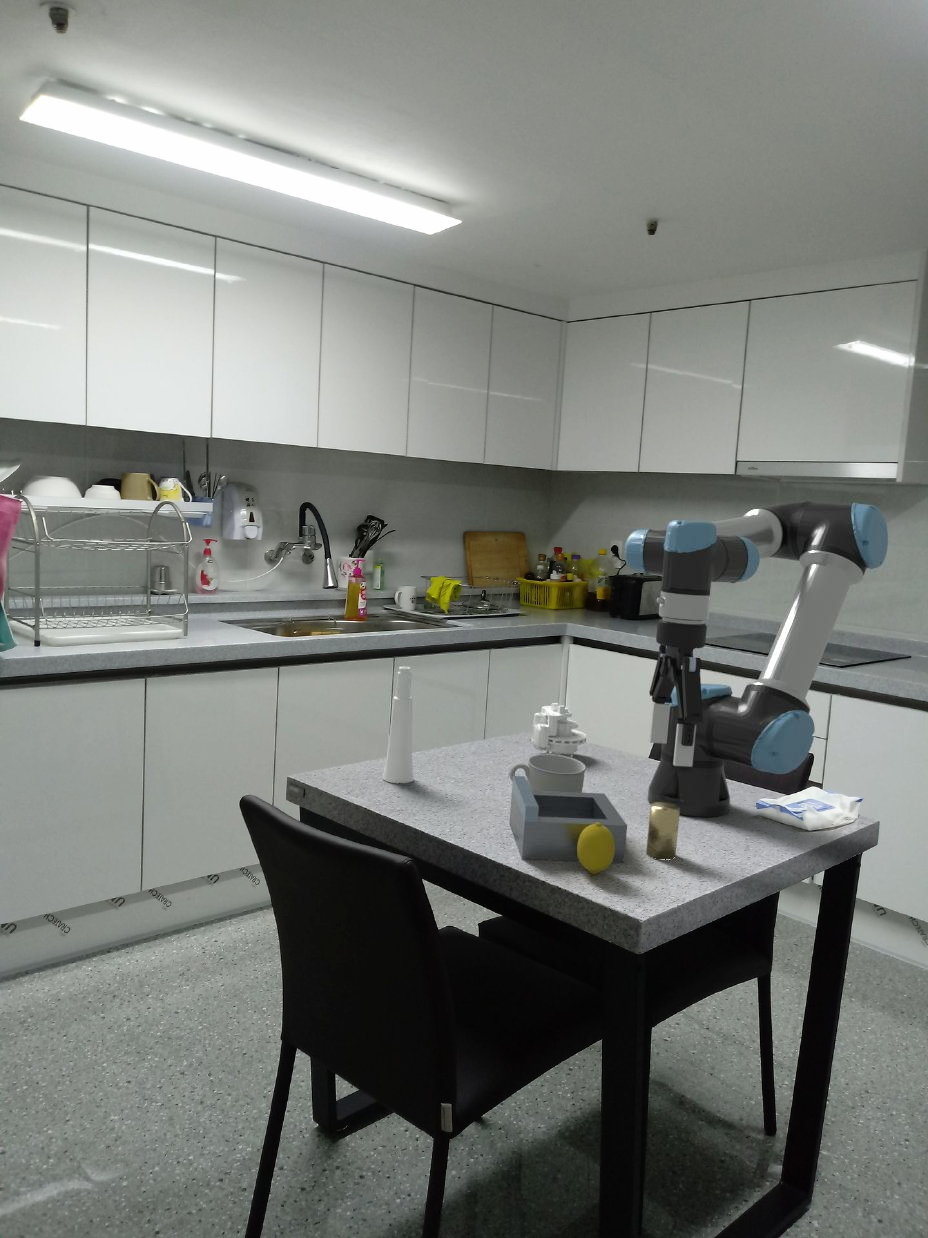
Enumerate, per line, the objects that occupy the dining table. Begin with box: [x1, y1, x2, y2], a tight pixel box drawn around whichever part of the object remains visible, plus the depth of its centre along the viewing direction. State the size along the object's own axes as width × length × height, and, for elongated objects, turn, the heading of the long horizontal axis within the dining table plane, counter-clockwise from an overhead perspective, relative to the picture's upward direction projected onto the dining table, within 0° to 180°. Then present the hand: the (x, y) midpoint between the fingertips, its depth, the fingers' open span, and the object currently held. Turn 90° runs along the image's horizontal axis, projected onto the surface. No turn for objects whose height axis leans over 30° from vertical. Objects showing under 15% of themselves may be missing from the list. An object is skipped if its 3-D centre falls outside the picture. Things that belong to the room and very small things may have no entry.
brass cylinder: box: [645, 802, 681, 860], centre depth 148 cm, size 5×5×8 cm
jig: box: [508, 775, 628, 864], centre depth 151 cm, size 16×16×8 cm
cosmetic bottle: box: [382, 666, 415, 784], centre depth 179 cm, size 6×6×22 cm
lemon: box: [577, 822, 615, 875], centre depth 138 cm, size 6×6×8 cm
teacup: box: [508, 753, 587, 793], centre depth 171 cm, size 14×11×8 cm
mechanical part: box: [530, 702, 587, 758], centre depth 204 cm, size 11×12×12 cm
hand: (669, 753), depth 147 cm, fingers open, 13 cm apart
